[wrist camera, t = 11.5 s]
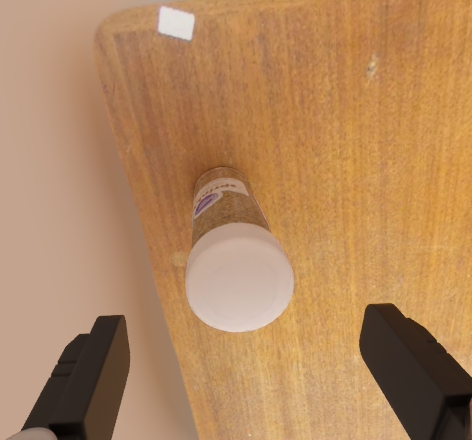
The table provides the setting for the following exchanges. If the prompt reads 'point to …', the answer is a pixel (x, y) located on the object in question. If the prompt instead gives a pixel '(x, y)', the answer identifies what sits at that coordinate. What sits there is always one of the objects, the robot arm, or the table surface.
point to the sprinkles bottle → (234, 257)
